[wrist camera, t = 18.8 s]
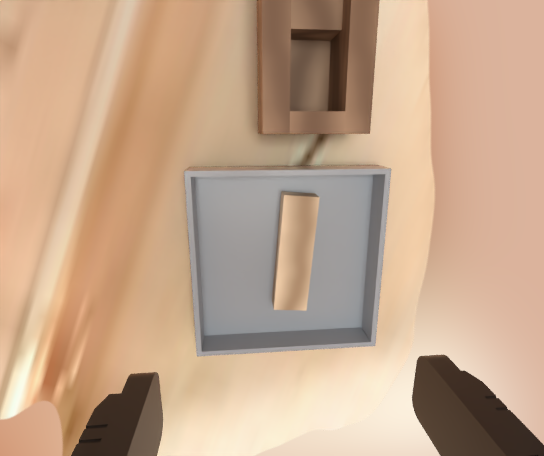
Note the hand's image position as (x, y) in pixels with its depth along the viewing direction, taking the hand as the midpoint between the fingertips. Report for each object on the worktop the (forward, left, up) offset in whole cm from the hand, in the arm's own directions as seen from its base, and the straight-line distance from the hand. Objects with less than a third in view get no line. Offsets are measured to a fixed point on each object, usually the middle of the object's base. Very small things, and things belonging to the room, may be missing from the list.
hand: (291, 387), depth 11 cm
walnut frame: (+6, +17, -32) cm, 37 cm away
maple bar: (+5, -6, -31) cm, 32 cm away
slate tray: (+4, -7, -32) cm, 33 cm away
